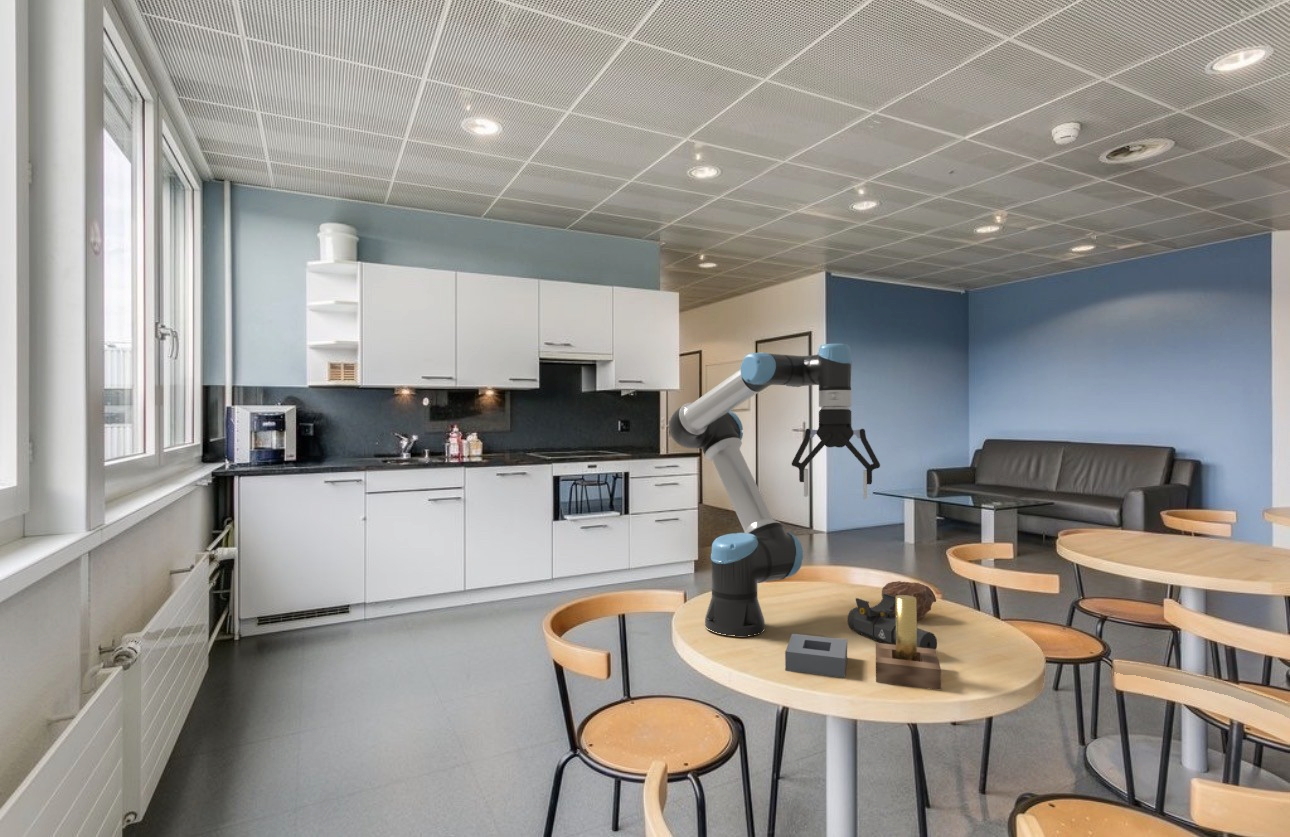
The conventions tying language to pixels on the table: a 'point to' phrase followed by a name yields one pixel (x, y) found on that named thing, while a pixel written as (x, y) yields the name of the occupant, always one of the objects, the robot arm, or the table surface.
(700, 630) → the table surface
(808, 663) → the mount block
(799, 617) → the table surface
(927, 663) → the dock block
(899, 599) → the brass pin
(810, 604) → the table surface
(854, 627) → the laser sight
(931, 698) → the table surface
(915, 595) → the brown lumpy rounded lump
